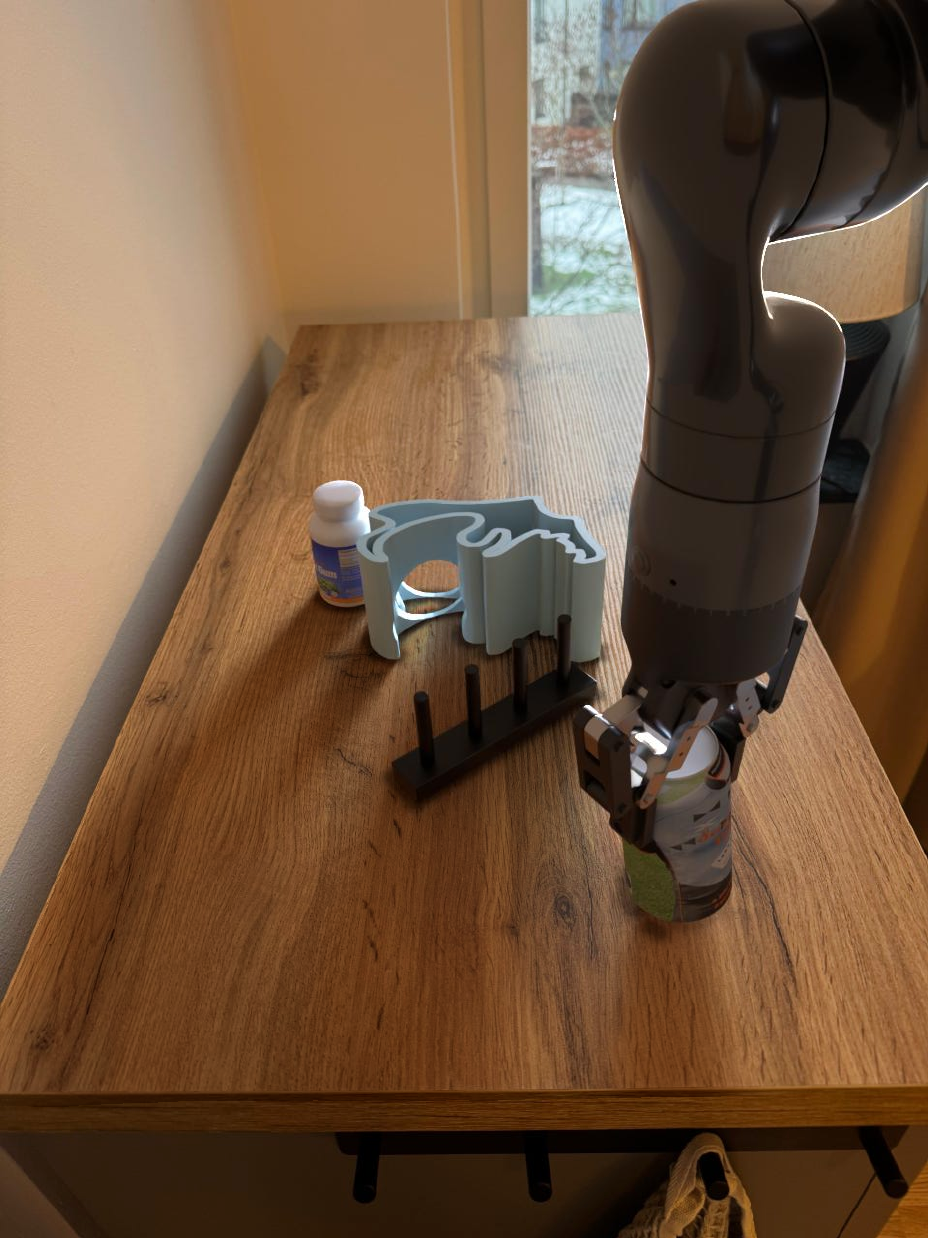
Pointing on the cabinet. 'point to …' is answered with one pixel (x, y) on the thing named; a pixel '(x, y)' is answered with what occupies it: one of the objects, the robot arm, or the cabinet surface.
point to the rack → (492, 718)
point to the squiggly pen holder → (485, 571)
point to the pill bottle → (338, 541)
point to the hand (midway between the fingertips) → (675, 803)
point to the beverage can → (686, 837)
